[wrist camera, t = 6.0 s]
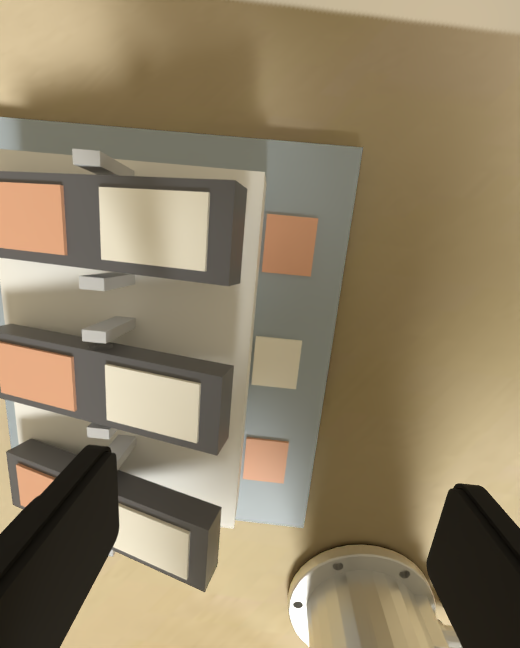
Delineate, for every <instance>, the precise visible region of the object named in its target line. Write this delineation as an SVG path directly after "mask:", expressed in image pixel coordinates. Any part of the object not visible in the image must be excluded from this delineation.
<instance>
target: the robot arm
mask: <svg viewBox="0 0 520 648" xmlns="http://www.w3.org/2000/svg"><path fill="white" fill-rule="evenodd" d="M118 533H119V503H118V479H117V457H116V454H115V453H112V452H111V448H110V447H108V446H99V445H87V446H85V447H84V448H83V449H82V450H81V451H80V452H79V454H78V455H77V456H76V457H75V458H74V459H73V460H72V461H71V462H70V463H69V464H68V465H67V466H66V468H65V469H64V470H63V471H62V472H61V473H60V474H59V475H58V476H57V477H56V478H55V479H54V480H53V482H52V483H51V484H50V485H49V486H48V487H47V488H46V489H45V490H44V491H43V492H42V493H41V494H40V495H39V496H37V497H36V498H34V499H33V500H32V501H31V502H30V503H29V504H28V505H27V506H26V507H25V508H24V509H23V510H22V511H21V513H20V514H19V515H18V516H17V517H16V518H15V519H14V520H13V521H12V522H11V523H10V524H9V525H8V526H7V527H6V528H5V530H4V531H3V532H2V533H1V534H0V648H60V646H61V644H62V642H63V640H64V638H65V637H66V635H67V633H68V631H69V629H70V627H71V625H72V623H73V621H74V620H75V618H76V616H77V614H78V612H79V610H80V608H81V606H82V604H83V602H84V601H85V599H86V597H87V595H88V593H89V591H90V589H91V587H92V585H93V584H94V582H95V580H96V578H97V576H98V574H99V572H100V570H101V568H102V567H103V565H104V563H105V561H106V559H107V557H108V555H109V553H110V551H111V549H112V548H113V546H114V544H115V542H116V539H117V537H118ZM427 571H428V575H429V577H430V580H431V582H432V584H433V586H434V588H435V590H436V592H437V595H438V597H439V599H440V601H441V603H442V605H443V607H444V609H445V611H446V614H447V616H448V618H449V620H450V622H451V624H452V626H449V625H443V623H442V622H441V621H440V620H437V619H436V616H435V613H436V603H435V597H434V595H433V592H432V590H431V588H430V585H429V583H428V581H427V579H426V577H425V576H424V574H423V572H422V571H421V570H420V569H419V568H418V567H417V566H416V565H415V564H414V563H413V562H412V561H410V560H409V559H408V558H406V557H405V556H403V555H401V554H399V553H397V552H395V551H392V550H389V549H386V548H382V547H379V546H372V545H347V546H341V547H336V548H333V549H330V550H327V551H324V552H322V553H320V554H319V555H317V556H315V557H313V558H312V559H310V560H309V561H308V562H307V563H306V564H304V565H303V566H302V567H301V568H300V570H299V571H298V572H297V573H296V574H295V576H294V578H293V580H292V582H291V584H290V588H289V593H288V611H289V617H290V621H291V624H292V626H293V628H294V630H295V632H296V633H297V634H298V636H299V637H300V638H301V639H302V640H303V641H304V642H305V643H306V644H307V645H308V646H309V648H520V528H519V527H518V526H517V525H516V524H515V523H514V521H513V520H512V519H511V518H510V517H509V516H508V515H507V513H506V512H505V511H504V510H503V509H502V508H501V506H500V505H499V504H498V503H497V502H496V501H495V500H494V498H493V497H492V496H491V495H490V494H489V493H488V492H487V490H486V489H484V488H483V487H482V486H479V485H469V484H456V485H455V486H454V488H453V489H450V490H449V491H448V494H447V497H446V500H445V504H444V507H443V510H442V513H441V516H440V520H439V523H438V526H437V529H436V532H435V536H434V539H433V542H432V545H431V548H430V552H429V555H428V558H427Z"/></svg>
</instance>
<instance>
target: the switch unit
mask: <svg viewBox="0 0 520 648" xmlns="http://www.w3.org/2000/svg"><path fill="white" fill-rule="evenodd" d="M362 151H363V147H352V146H340V145H328V144H316V143H304V142H293V141H281V140H269V139H257V138H245V137H233V136H221V135H209V134H198V133H186V132H174V131H162V130H150V129H138V128H126V127H114V126H103V125H91V124H79V123H67V122H55V121H43V120H31V119H20V118H8V117H0V171H13V172H39V173H65V174H91V175H117V176H143V177H169V178H195V179H221V180H236V181H237V182H239V183H240V184H241V185H243V186H244V187H245V188H247V200H246V213H245V226H244V240H243V253H242V266H241V279H240V284H236V285H232V286H222V285H214V284H206V283H198V282H190V281H182V280H174V279H166V278H158V277H150V276H142V275H134V274H126V273H118V272H110V271H102V270H94V269H86V268H78V267H70V266H62V265H54V264H46V263H38V262H30V261H22V260H14V259H6V258H0V326H2V325H7V324H16V325H22V326H27V327H32V328H38V329H43V330H48V331H54V332H59V333H64V334H69V335H75V336H80V337H82V341H86V342H95V343H105V344H106V343H108V342H112V343H117V344H122V345H128V346H133V347H138V348H144V349H149V350H154V351H159V352H165V353H170V354H175V355H181V356H186V357H191V358H196V359H202V360H207V361H212V362H218V363H223V364H228V365H234V372H233V386H232V399H231V412H230V425H229V438H228V439H227V441H226V443H225V444H224V446H223V447H222V449H221V451H220V452H219V454H218V455H217V456H216V455H213V454H209V453H205V452H201V451H197V450H194V449H190V448H186V447H182V446H179V445H175V444H171V443H167V442H164V441H160V440H156V439H152V438H148V437H145V436H141V435H137V434H133V433H130V432H126V431H122V430H118V429H115V428H111V427H107V426H103V425H100V424H96V423H92V422H88V421H84V420H81V419H77V418H73V417H69V416H66V415H62V414H58V413H54V412H51V411H47V410H43V409H39V408H36V407H32V406H28V405H24V404H20V403H17V402H13V401H9V400H5V402H6V410H7V418H8V426H9V434H10V442H11V449H12V448H14V447H16V446H18V445H19V444H21V443H23V442H25V441H27V440H29V439H30V438H31V439H34V440H37V441H40V442H43V443H45V444H48V445H51V446H54V447H56V448H59V449H62V450H65V451H68V452H70V453H73V454H76V455H78V454H79V452H80V451H81V450H82V449H83V448H84V447H85V446H87V445H99V446H108V447H110V448H111V452H112V453H115V454H116V457H117V471H118V470H120V471H123V472H126V473H129V474H131V475H134V476H137V477H140V478H142V479H145V480H148V481H151V482H153V483H156V484H159V485H162V486H165V487H167V488H170V489H173V490H176V491H178V492H181V493H184V494H187V495H190V496H192V497H195V498H198V499H201V500H203V501H206V502H209V503H212V504H214V505H217V506H220V507H222V509H221V523H220V527H224V528H233V529H234V524H235V520H239V521H247V522H256V523H264V524H273V525H281V526H290V527H298V528H304V522H305V516H306V510H307V503H308V497H309V490H310V484H311V478H312V471H313V465H314V458H315V452H316V446H317V439H318V433H319V426H320V420H321V414H322V407H323V401H324V394H325V388H326V382H327V375H328V369H329V362H330V356H331V350H332V343H333V337H334V330H335V324H336V318H337V311H338V305H339V298H340V292H341V285H342V279H343V273H344V266H345V260H346V253H347V247H348V241H349V234H350V228H351V221H352V215H353V209H354V202H355V196H356V189H357V183H358V177H359V170H360V164H361V157H362ZM115 552H116V551H113V550H111V551H110V553H109V555H108V556H113V555H114V554H115Z"/></svg>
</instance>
